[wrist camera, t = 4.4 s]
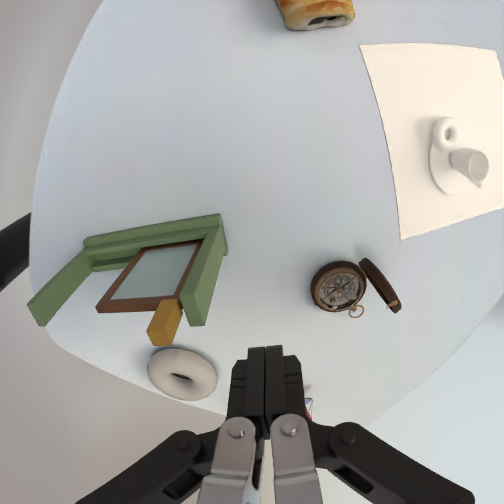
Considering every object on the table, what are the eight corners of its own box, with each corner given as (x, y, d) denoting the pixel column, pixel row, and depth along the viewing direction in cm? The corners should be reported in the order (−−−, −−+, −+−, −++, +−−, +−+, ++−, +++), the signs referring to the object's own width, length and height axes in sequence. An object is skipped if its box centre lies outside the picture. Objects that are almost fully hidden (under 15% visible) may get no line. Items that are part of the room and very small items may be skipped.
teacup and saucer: (419, 117, 21) (442, 119, 17) (472, 112, 19) (496, 115, 16) (431, 201, 24) (452, 214, 21) (480, 187, 23) (502, 198, 19)
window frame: (98, 268, 29) (43, 333, 19) (86, 237, 28) (21, 296, 17) (228, 251, 28) (208, 335, 17) (220, 213, 26) (190, 283, 15)
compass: (298, 282, 29) (306, 329, 22) (360, 239, 27) (387, 277, 20) (335, 325, 32) (348, 371, 25) (391, 289, 29) (416, 330, 23)
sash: (144, 254, 27) (81, 343, 15) (141, 244, 26) (73, 330, 15) (210, 245, 26) (173, 346, 14) (207, 234, 26) (166, 330, 14)
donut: (167, 387, 39) (227, 386, 38) (162, 404, 36) (224, 405, 34) (139, 344, 35) (205, 340, 33) (131, 361, 32) (200, 360, 30)
